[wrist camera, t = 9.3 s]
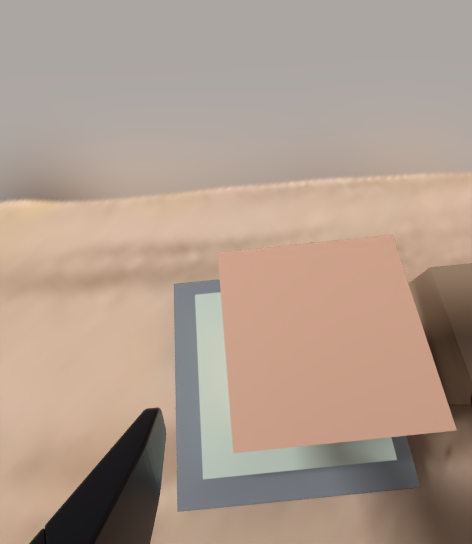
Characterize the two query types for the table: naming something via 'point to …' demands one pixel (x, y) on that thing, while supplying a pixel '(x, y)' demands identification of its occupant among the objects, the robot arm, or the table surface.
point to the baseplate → (266, 485)
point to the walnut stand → (448, 325)
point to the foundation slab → (218, 421)
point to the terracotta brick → (325, 346)
